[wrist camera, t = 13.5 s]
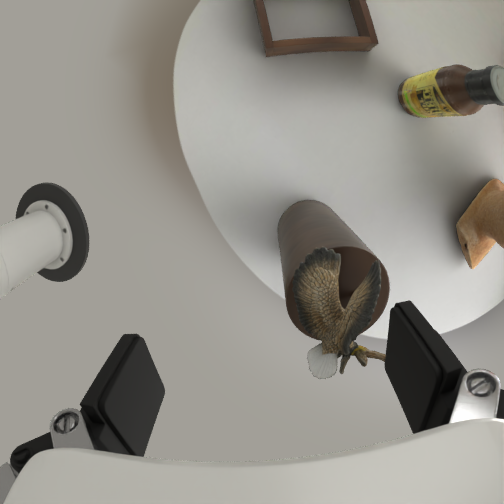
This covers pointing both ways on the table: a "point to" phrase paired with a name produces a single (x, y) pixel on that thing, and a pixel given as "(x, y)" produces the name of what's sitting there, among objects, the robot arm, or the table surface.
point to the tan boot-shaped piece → (482, 223)
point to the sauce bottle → (452, 91)
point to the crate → (320, 44)
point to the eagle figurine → (334, 311)
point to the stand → (332, 237)
